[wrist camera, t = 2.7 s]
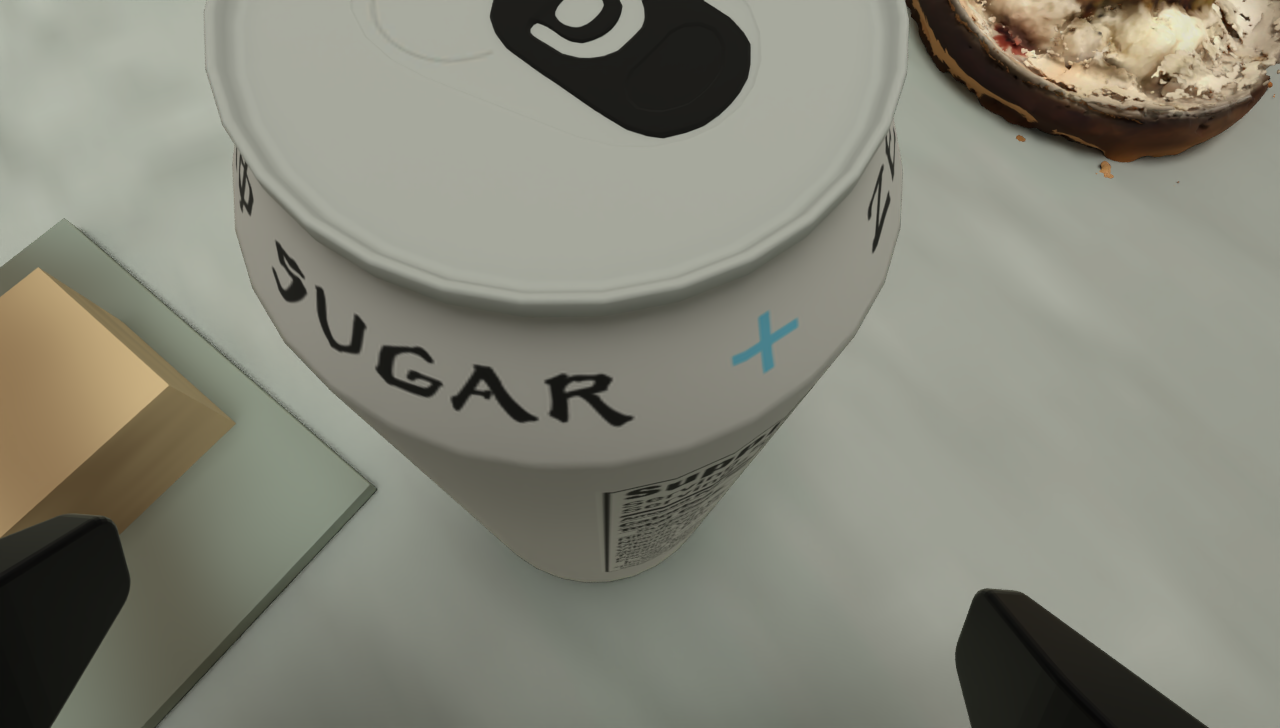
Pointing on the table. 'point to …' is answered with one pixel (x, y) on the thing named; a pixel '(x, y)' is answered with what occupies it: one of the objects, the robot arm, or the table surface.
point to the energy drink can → (566, 236)
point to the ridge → (153, 470)
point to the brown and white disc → (1109, 65)
